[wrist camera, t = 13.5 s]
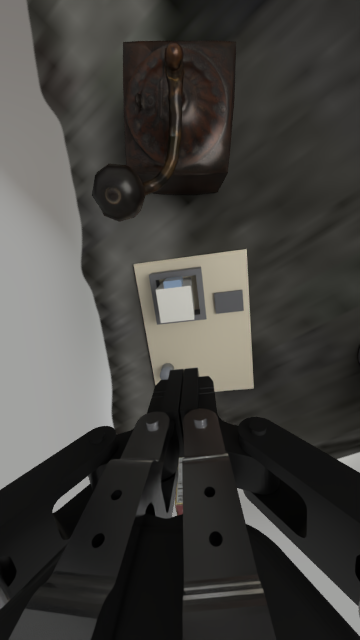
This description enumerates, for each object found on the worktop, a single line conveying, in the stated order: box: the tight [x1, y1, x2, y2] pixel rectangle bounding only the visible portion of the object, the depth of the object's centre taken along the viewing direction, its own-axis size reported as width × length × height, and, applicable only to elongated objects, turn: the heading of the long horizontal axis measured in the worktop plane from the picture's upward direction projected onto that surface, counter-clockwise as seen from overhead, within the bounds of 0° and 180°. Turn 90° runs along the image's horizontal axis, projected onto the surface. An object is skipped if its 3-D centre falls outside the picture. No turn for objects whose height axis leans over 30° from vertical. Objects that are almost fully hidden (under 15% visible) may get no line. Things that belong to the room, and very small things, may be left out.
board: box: [134, 249, 254, 392], centre depth 36 cm, size 16×22×4 cm
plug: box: [156, 276, 194, 323], centre depth 32 cm, size 4×5×8 cm
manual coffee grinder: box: [92, 41, 236, 222], centre depth 23 cm, size 16×11×18 cm
